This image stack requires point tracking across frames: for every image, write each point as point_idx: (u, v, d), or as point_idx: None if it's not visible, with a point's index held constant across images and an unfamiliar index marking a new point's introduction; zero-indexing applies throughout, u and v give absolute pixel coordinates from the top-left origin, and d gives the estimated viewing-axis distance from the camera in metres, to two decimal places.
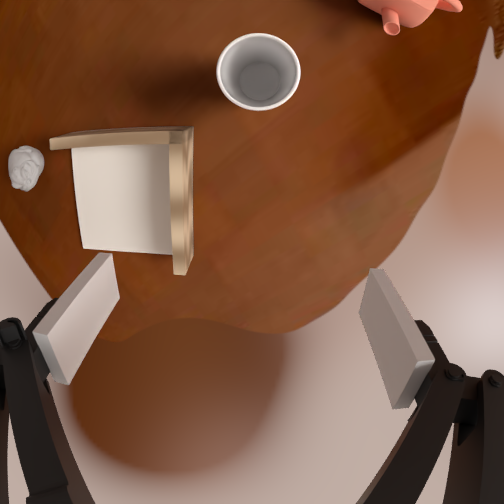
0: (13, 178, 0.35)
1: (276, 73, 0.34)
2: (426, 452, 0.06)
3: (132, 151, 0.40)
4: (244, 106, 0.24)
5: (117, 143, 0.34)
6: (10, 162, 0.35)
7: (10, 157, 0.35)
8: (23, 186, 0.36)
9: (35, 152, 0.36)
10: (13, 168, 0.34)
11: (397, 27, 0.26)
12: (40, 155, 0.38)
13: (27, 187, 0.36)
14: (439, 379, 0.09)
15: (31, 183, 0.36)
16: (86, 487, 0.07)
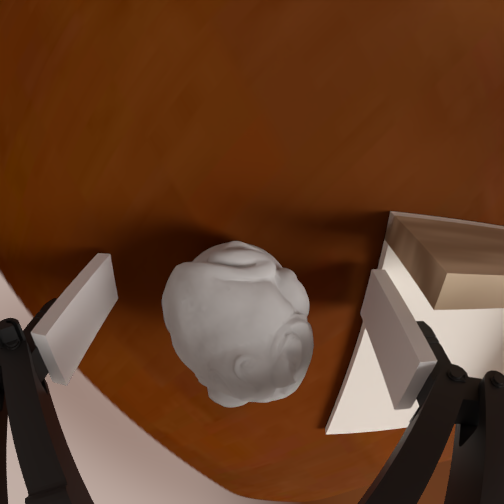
0: (233, 390, 0.11)
1: None
2: (427, 453, 0.06)
3: None
4: None
5: None
6: (194, 320, 0.11)
7: (186, 298, 0.11)
8: None
9: (295, 278, 0.13)
10: (238, 362, 0.10)
11: None
12: None
13: None
14: (441, 380, 0.09)
15: (293, 387, 0.13)
16: (85, 487, 0.07)
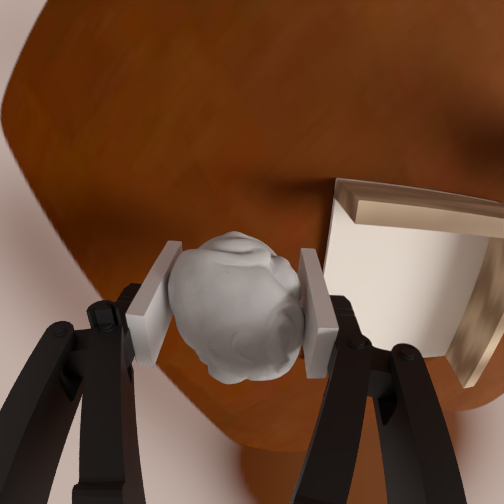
0: (231, 366, 0.12)
1: None
2: (347, 425, 0.08)
3: None
4: None
5: (481, 232, 0.19)
6: (196, 301, 0.12)
7: (190, 281, 0.13)
8: None
9: (288, 265, 0.14)
10: (235, 338, 0.12)
11: None
12: None
13: (269, 376, 0.14)
14: (343, 351, 0.10)
15: (287, 366, 0.14)
16: (142, 483, 0.07)
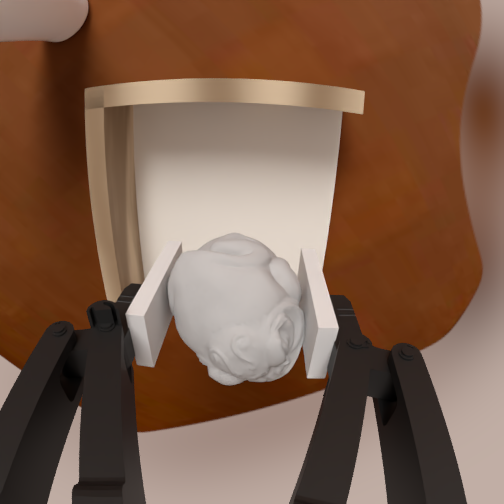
0: (231, 367, 0.12)
1: None
2: (347, 425, 0.08)
3: (153, 183, 0.26)
4: None
5: (105, 198, 0.21)
6: (196, 302, 0.12)
7: (189, 282, 0.13)
8: None
9: (288, 266, 0.14)
10: (235, 339, 0.12)
11: None
12: None
13: (269, 377, 0.14)
14: (343, 350, 0.10)
15: (287, 368, 0.14)
16: (142, 483, 0.07)
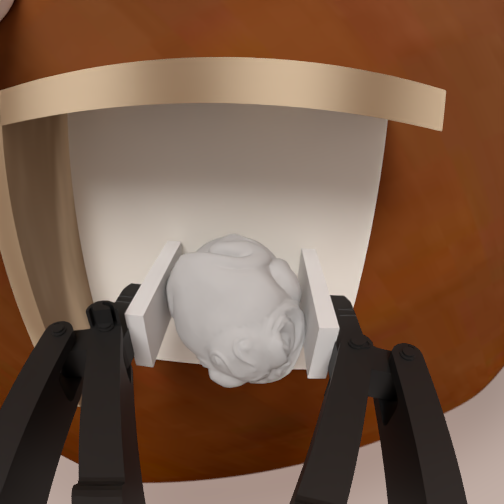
0: (232, 370, 0.12)
1: None
2: (348, 425, 0.08)
3: (101, 227, 0.17)
4: None
5: (21, 266, 0.12)
6: (196, 305, 0.12)
7: (189, 285, 0.12)
8: None
9: (288, 267, 0.14)
10: (236, 342, 0.12)
11: None
12: None
13: None
14: (344, 351, 0.10)
15: (288, 369, 0.14)
16: (141, 483, 0.07)
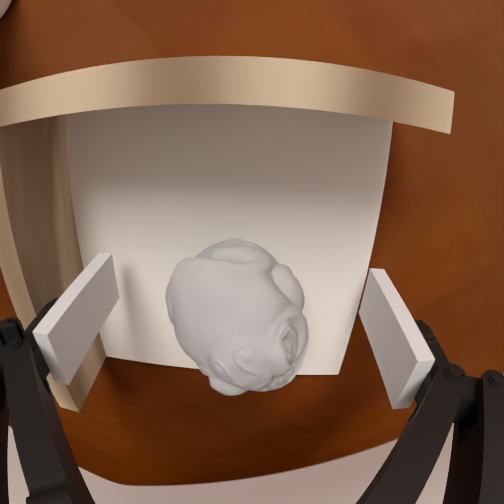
0: (233, 378, 0.12)
1: None
2: (426, 452, 0.06)
3: (100, 231, 0.17)
4: None
5: (18, 271, 0.12)
6: (197, 312, 0.12)
7: (189, 291, 0.12)
8: None
9: (291, 273, 0.14)
10: (237, 350, 0.11)
11: None
12: None
13: None
14: (439, 379, 0.09)
15: (290, 376, 0.13)
16: (86, 487, 0.07)
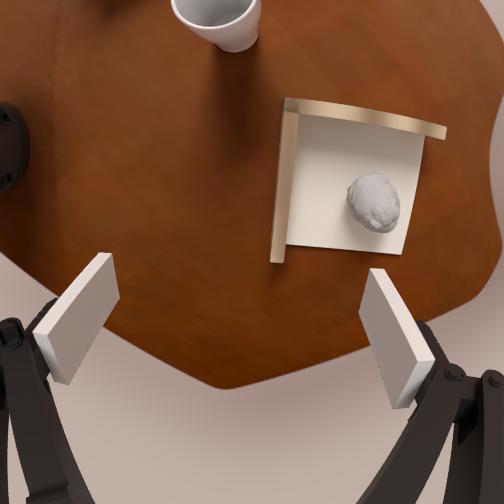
0: (381, 216, 0.32)
1: (225, 15, 0.29)
2: (426, 452, 0.06)
3: (304, 169, 0.38)
4: (253, 2, 0.18)
5: (291, 174, 0.33)
6: (368, 192, 0.33)
7: (365, 185, 0.33)
8: (385, 227, 0.34)
9: (393, 186, 0.34)
10: (384, 204, 0.32)
11: None
12: None
13: (388, 229, 0.34)
14: (439, 379, 0.09)
15: (395, 225, 0.34)
16: (86, 487, 0.07)
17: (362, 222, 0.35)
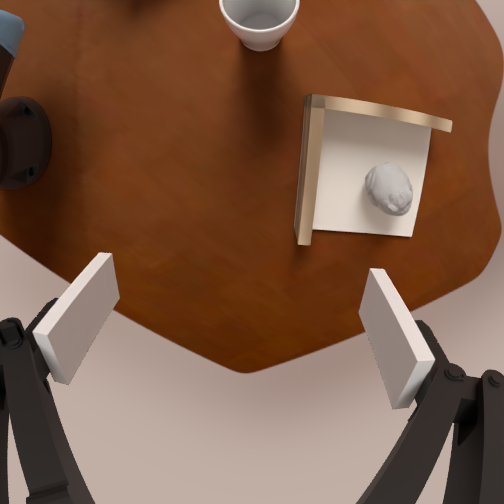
0: (398, 201, 0.35)
1: (251, 16, 0.31)
2: (426, 452, 0.06)
3: (324, 159, 0.40)
4: (295, 10, 0.21)
5: (317, 163, 0.35)
6: (386, 179, 0.36)
7: (383, 173, 0.36)
8: (400, 211, 0.37)
9: (405, 173, 0.37)
10: (400, 190, 0.35)
11: None
12: None
13: (403, 212, 0.37)
14: (439, 379, 0.09)
15: (408, 209, 0.37)
16: (86, 487, 0.07)
17: (380, 206, 0.38)
